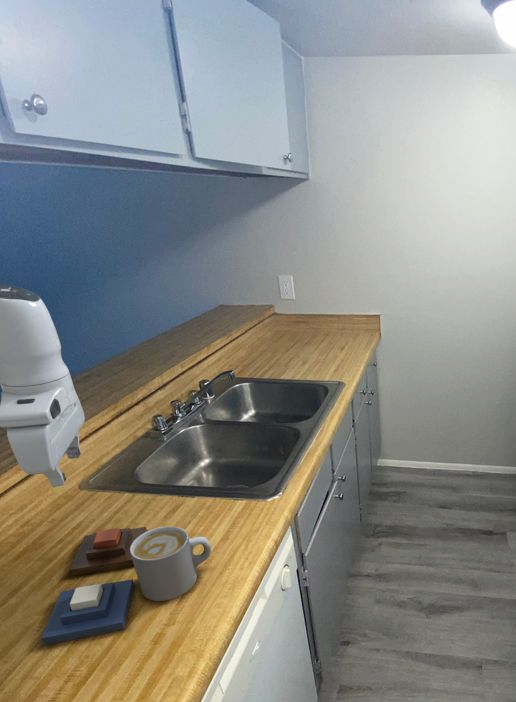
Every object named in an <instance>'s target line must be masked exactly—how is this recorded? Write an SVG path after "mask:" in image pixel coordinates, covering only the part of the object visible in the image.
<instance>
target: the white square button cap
mask: <svg viewBox="0 0 516 702" xmlns="http://www.w3.org/2000/svg"><path fill="white" fill-rule="evenodd" d="M101 584H102V583H97V584H91V585H85V586H81V587H75V588H74V589H75V592H74V594H73V597H72V599H71V602H70V607H71V609H72V611H75V610H80V609H85V608H91V607H96V606H99V603H100V600H101V596H102V593H103V588H102V585H101Z"/></svg>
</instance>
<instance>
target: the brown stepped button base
mask: <svg viewBox="0 0 516 702" xmlns="http://www.w3.org/2000/svg"><path fill="white" fill-rule="evenodd" d="M147 531H148V529H147V527H146V526H141V527H136V528H130V527H125V528H120V532H121V537H120V540H119V543H118V545H117V546H110V547H104V548H97V549H95V546H94V540H95V538H96V535H97V532H93V533H92V534H88V535H84V536H83V538H82V540H81V541H82V542H81V544H80V546H79V549H78V550H77V553H76V555H75V558H74V560H73V563H72V565H71V567H70V572H71V575H72V577H77V576H81V575H88V574H94V573H101V572H106V571H112V570H118V569H123V568H131V567H134V563H133V560H132V557H131V553H130V547H131V545H132V543H133V542H134V540H135V539H136V538H138V537H139V536H140V535H142V534H143V533H145V532H147Z"/></svg>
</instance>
